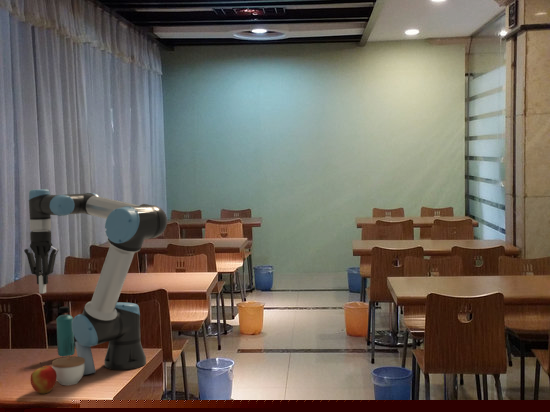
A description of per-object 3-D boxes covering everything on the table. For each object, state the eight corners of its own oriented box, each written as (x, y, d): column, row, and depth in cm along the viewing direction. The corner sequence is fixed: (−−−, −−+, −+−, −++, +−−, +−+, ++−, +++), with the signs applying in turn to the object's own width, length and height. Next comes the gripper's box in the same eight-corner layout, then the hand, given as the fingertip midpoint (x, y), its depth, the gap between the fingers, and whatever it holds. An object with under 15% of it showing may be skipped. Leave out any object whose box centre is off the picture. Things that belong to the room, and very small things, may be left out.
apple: (49, 396, 233) (48, 366, 233) (26, 395, 235) (25, 365, 234) (61, 389, 241) (60, 359, 240) (39, 388, 243) (38, 358, 242)
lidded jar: (68, 389, 241) (67, 361, 240) (46, 384, 246) (45, 357, 246) (92, 380, 250) (91, 353, 250) (69, 376, 256) (68, 350, 255)
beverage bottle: (72, 360, 278) (70, 308, 277) (55, 360, 278) (53, 308, 277) (77, 355, 285) (75, 305, 284) (60, 356, 285) (58, 305, 284)
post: (98, 371, 259) (91, 338, 262) (89, 372, 254) (82, 339, 257) (88, 375, 261) (81, 342, 264) (78, 376, 256) (71, 343, 259)
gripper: (61, 229, 275) (63, 291, 277) (29, 229, 278) (31, 290, 279) (51, 231, 268) (54, 294, 269) (19, 231, 270) (21, 294, 272)
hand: (42, 292), depth 274 cm, fingers closed
